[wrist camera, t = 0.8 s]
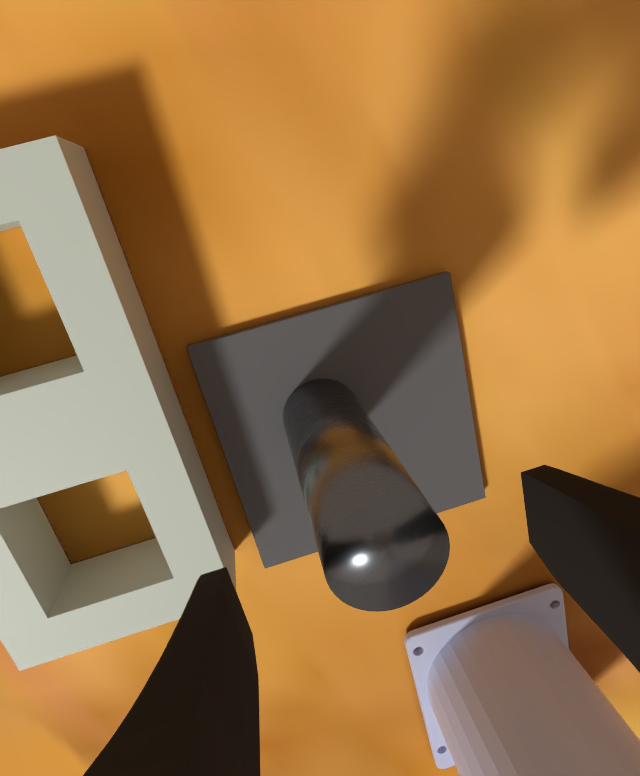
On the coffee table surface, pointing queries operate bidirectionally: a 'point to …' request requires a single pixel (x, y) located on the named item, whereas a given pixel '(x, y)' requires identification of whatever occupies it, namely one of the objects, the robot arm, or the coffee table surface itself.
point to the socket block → (92, 431)
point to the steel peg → (361, 502)
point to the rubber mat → (368, 384)
